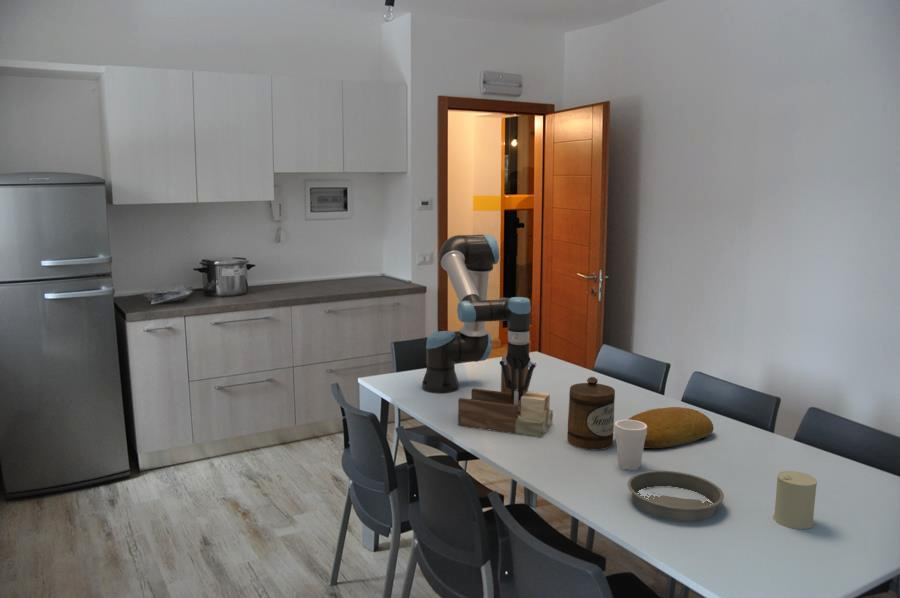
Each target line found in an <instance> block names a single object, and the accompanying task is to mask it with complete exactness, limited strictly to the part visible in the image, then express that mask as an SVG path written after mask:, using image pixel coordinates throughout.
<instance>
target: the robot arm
mask: <svg viewBox="0 0 900 598" xmlns="http://www.w3.org/2000/svg"><path fill="white" fill-rule="evenodd" d="M438 254H439V255H438V259H439V263H440V265H441V268H442V269H443V270H444V271H446V274H447V276H448V278H449V280H450V282H451V285H452V288H453V290H454V292H455V294H456V297H457V299H458V301H459V302H458V304H457V306H456V307H457V308H456V313H457V318H458V320H459V321H460V322H462V323H463V325H462V326H461V327H460V329H459V334H456V333H455V331H454V330H441V331H436V332H433V333H431V334H429V335H428V336H427V337H426V338H427V339H426V345H425V349H426V371H425V374H424V377H423V378H422V382H421V383H422V384H421V385H422V390H424V391H426V392H428V393H429V392H430V393H437V394H441V393H443V394H444V393H451V392H455V391H457V390H459V387H460V385H459V384H460V383H459V380H458V377H457V374H456V369H455V365H456V363H457V364H458V363H471V362H475V363H477V362H481V361H486V360H487V359H488V358H490V355H491V352H492V346H493V343H492V340H493V339H492V336H491V335H490V333H489V332H488V329H486V327H485V324H486V322H502V321H503V322H505V321H506V322H507V341H508V343H507V347H506V348H507V353H506V354H507V356H506V359H504V360H502V359H501V360H500V361H499V365H500V366H502V369H503V373H504V378H505V383H506V387H507V388H509V389H511V391H512V393H511V398H512V399H514V405H518V409H519V408H520V400H521V397H522V396H523V390H527V389H528V390H529V387H530V383H531V380H532V377H533V372H534V370H535V368H536V366H537V365H538V364H537V363H536V362H534V361H532V360H531V357H530V343H529V342H530V339H531V337H530V336H531V334H530V332H531V331H530V330H531V329H530V328H531V310H532V309H531V308H532V307H531V299H529V298H528V297H523V296H513V297H510V298H509V297H501V298H499V299H488V288H489V278H490V277H489V275H490V273H491V272H492V271H493V270H494V265H496V264H498V263H499V261H500V248H499V245H498V241H497V239H496V238H495V237H494V236H493V235H490V234H465V235H463V234H459V235H454V236H451V237H448V239H446V240H445V242H444V243H443V244H442V246H441V247H440V250H439V253H438ZM507 362H508V363H509V365H510V366H511V372H512V375H511V379H510V375H509V370H508V366H507V364H508V363H507ZM527 364H529V366H528V373H527V377H526V380H525V384H524V368H525V367H526V366H527ZM517 369H518V372H519V379H518V389H516V388H517Z"/></svg>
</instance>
